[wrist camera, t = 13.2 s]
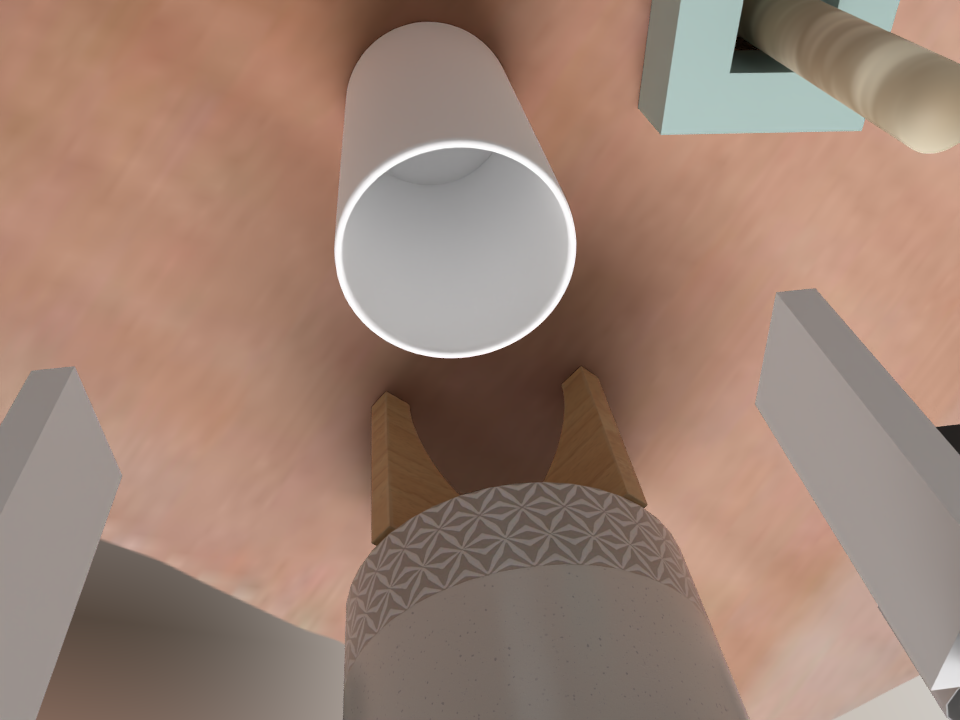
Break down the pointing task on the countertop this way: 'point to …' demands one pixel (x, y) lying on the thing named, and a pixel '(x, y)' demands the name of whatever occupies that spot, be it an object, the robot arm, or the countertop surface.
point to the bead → (734, 74)
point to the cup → (446, 199)
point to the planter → (526, 590)
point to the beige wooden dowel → (862, 68)
